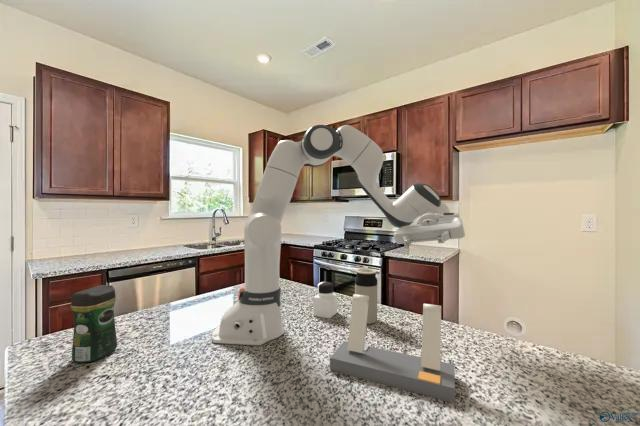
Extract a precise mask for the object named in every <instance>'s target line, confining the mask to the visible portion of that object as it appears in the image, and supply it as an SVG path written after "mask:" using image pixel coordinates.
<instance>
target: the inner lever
mask: <svg viewBox="0 0 640 426" xmlns="http://www.w3.org/2000/svg"><path fill="white" fill-rule="evenodd" d="M368 303H369V296H365V295H357V294H355V293H353V294H352V303H351V311H350V312H351V313H350V322H349V328H348V329H349V331H348V341H347V342H348V347H347V350H351V351H355V352H360V353H364V347H365V344H366V335H367V325H368V324H367V314H368Z"/></svg>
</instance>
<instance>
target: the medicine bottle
mask: <svg viewBox="0 0 640 426" xmlns="http://www.w3.org/2000/svg"><path fill="white" fill-rule="evenodd" d="M312 299H313V300H312V304H313V306H312V310H313V311H312V313H313V314H312V315H313V317H318V318H325V319H332V318H333V317H334V316H335V315H336V314H337V313H338V294H335V293H334V283H332V282H330V281H321V282H319V283H318V284H317V294H316V295H315V296H313V297H312Z"/></svg>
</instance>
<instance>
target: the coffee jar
mask: <svg viewBox="0 0 640 426" xmlns="http://www.w3.org/2000/svg"><path fill="white" fill-rule="evenodd" d="M116 300H117V296H116V289H115V287H114V286H113V285H109V284H108V285H107V284H100V285H97V286H96V285H95V286H93V287H90V288H86V289H84V290H80V291H76V292H74V293H73V294H72V295H71V303H70V308H71V311H72V314H73V319H74V321H73V336H72V337H73V338H72V347H71V360H72V361H73V362H75V363H77V364H78V363H80V364H85V363H90V362H95V361H98V360H100V359H102V358H103V357H105V356H107V355H108V354H110V353H111V352H113V351H114V350H116V349H117V347H118V339H117V331H116V322H115V303H116Z"/></svg>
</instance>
